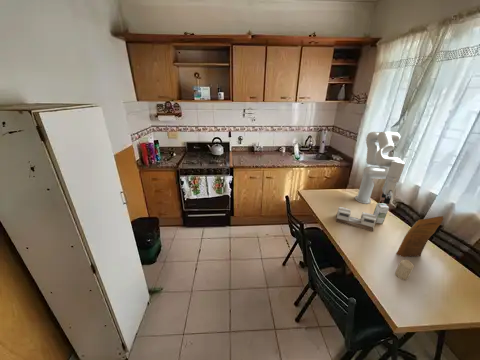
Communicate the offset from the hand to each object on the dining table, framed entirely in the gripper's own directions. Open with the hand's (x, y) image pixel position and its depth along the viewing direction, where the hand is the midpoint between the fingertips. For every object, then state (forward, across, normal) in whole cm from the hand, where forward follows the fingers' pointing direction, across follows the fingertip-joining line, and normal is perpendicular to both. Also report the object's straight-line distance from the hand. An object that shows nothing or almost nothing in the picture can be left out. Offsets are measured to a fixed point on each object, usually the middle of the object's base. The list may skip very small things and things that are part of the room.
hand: (385, 200), depth 149 cm
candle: (+20, +51, +6) cm, 55 cm away
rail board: (+18, +9, -16) cm, 26 cm away
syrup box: (+19, -1, 0) cm, 19 cm away
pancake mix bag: (+19, +30, +14) cm, 38 cm away
